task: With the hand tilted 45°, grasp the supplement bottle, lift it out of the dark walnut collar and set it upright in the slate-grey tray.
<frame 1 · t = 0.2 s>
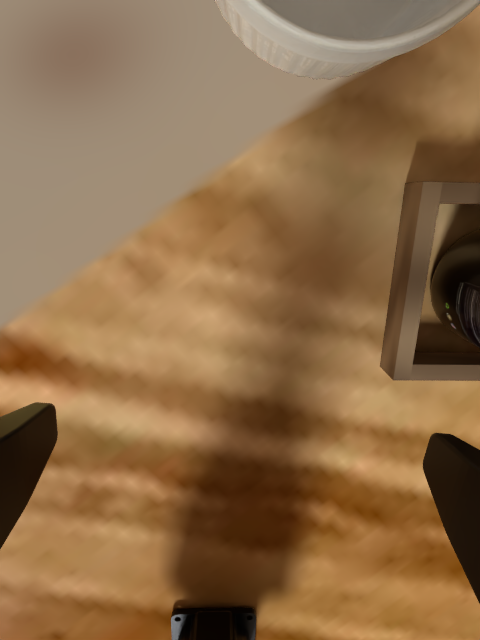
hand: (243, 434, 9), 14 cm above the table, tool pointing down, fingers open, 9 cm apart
supplement bottle: (478, 282, 23), resting in walnut collar
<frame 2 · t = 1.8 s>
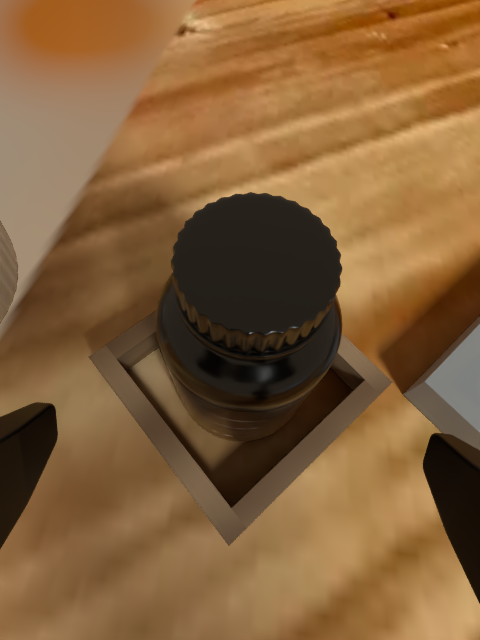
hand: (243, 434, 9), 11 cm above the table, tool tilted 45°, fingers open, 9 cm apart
supplement bottle: (239, 382, 21), resting in walnut collar
walnut collar: (239, 380, 21), on the table
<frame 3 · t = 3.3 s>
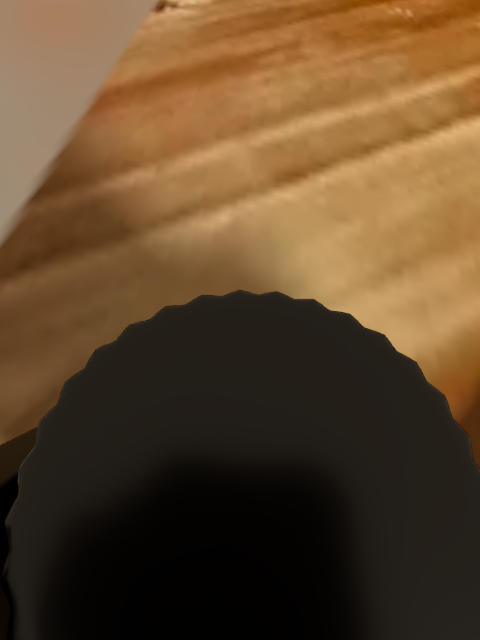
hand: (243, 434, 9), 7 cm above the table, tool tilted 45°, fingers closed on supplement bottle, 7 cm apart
supplement bottle: (230, 500, 15), resting in walnut collar, touching gripper
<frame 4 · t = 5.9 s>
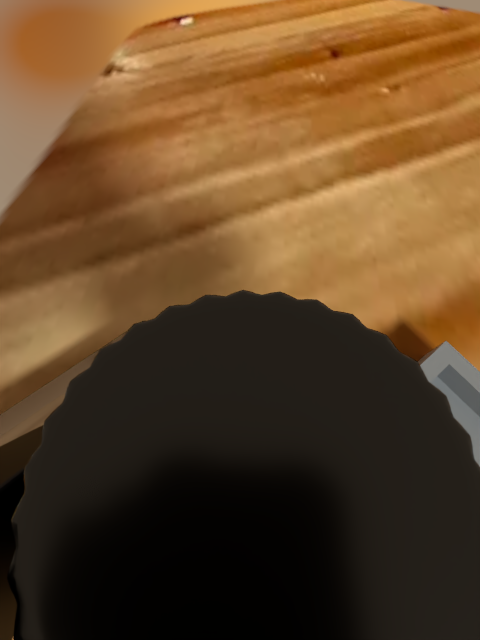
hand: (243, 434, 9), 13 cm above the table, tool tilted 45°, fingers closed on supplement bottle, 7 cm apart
grey tray: (442, 515, 21), on the table
supplement bottle: (228, 499, 15), point 6 cm above the table, touching gripper
walnut collar: (102, 478, 20), on the table
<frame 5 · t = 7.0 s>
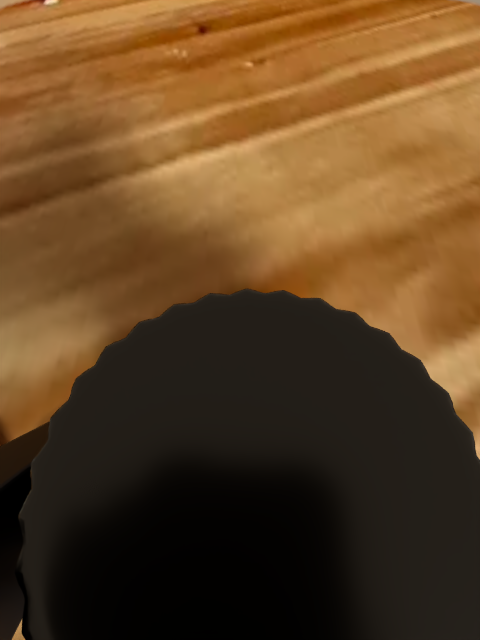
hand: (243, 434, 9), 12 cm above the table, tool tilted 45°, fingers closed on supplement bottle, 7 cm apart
supplement bottle: (229, 498, 15), point 5 cm above the table, touching gripper
when the fingers open (9 cm above the table, at t = 8.1 s): supplement bottle drops 1 cm, resting on grey tray.
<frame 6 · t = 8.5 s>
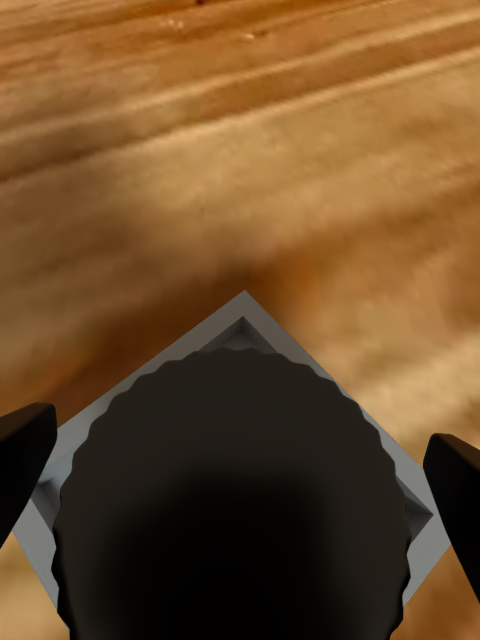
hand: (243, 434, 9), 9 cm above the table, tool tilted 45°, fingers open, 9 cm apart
grey tray: (228, 500, 17), on the table
supplement bottle: (229, 504, 16), point 1 cm above the table, touching grey tray
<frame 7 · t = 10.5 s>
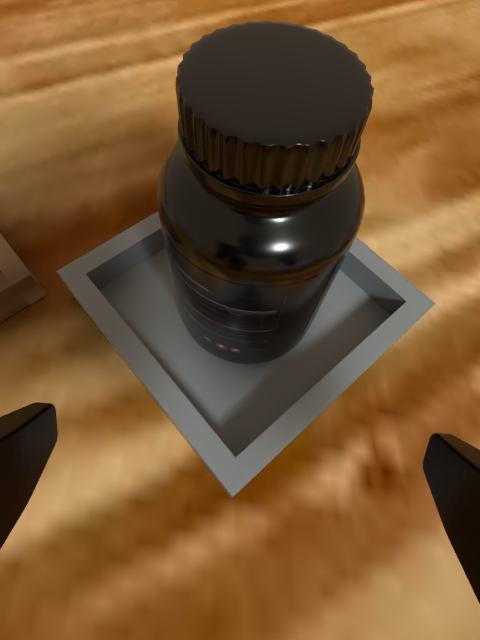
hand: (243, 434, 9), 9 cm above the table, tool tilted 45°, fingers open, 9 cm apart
grey tray: (244, 311, 21), on the table
supplement bottle: (245, 308, 20), point 1 cm above the table, touching grey tray
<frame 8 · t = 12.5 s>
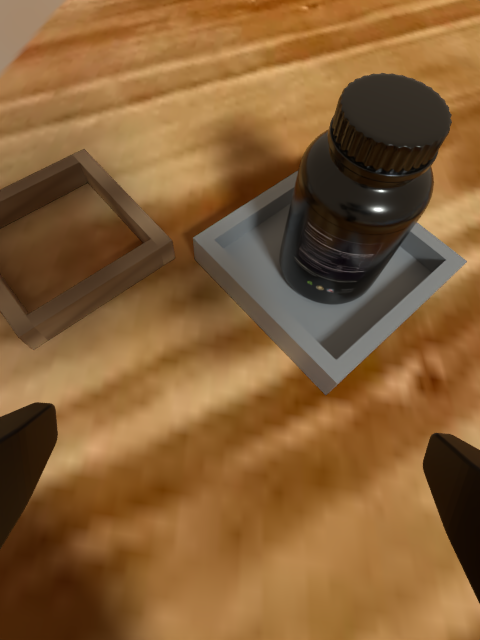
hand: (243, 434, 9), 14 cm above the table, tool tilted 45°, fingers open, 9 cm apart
grey tray: (321, 270, 28), on the table
supplement bottle: (324, 267, 27), point 1 cm above the table, touching grey tray
walnut collar: (66, 248, 27), on the table
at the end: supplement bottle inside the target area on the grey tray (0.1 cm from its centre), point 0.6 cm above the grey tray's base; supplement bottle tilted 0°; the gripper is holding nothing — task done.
